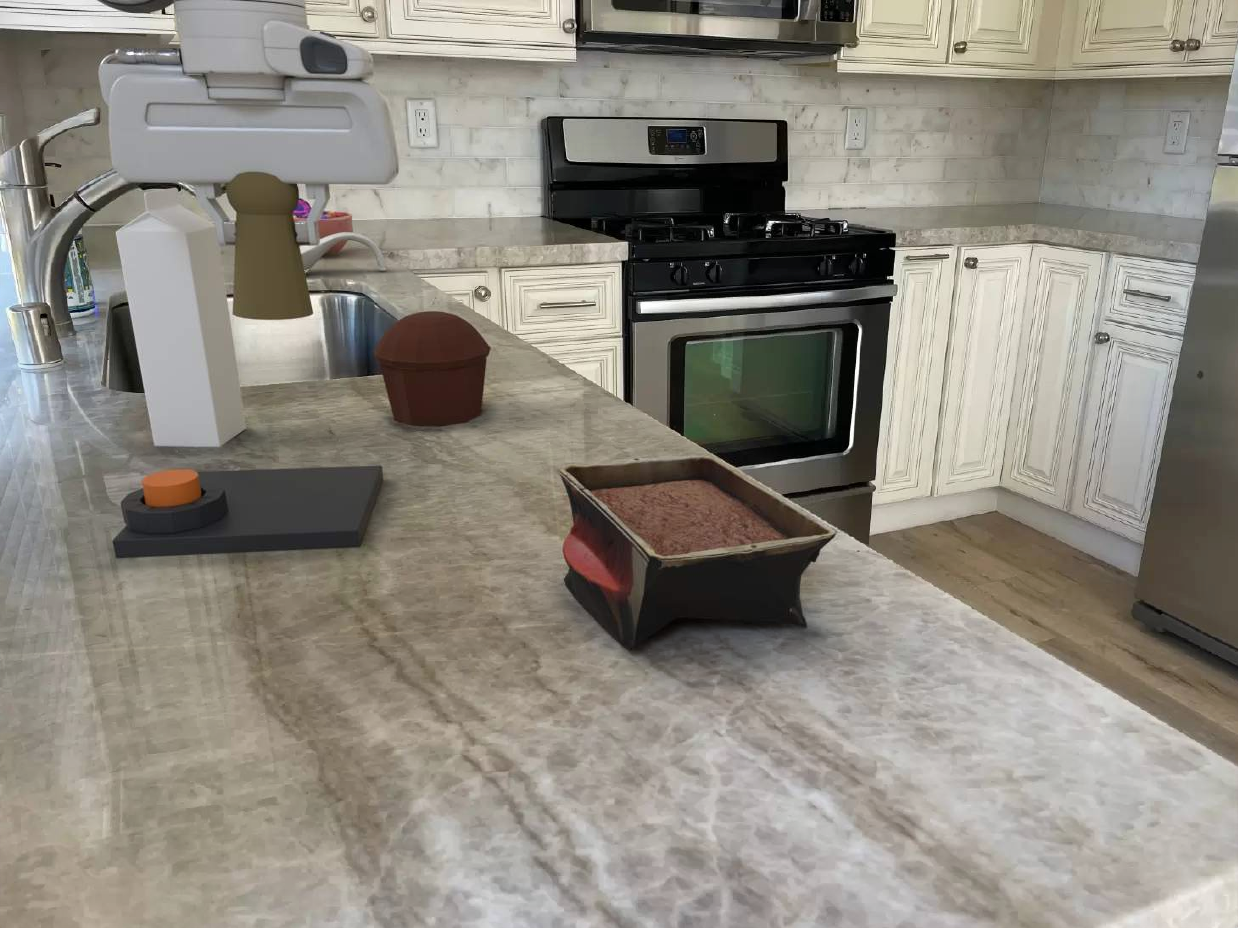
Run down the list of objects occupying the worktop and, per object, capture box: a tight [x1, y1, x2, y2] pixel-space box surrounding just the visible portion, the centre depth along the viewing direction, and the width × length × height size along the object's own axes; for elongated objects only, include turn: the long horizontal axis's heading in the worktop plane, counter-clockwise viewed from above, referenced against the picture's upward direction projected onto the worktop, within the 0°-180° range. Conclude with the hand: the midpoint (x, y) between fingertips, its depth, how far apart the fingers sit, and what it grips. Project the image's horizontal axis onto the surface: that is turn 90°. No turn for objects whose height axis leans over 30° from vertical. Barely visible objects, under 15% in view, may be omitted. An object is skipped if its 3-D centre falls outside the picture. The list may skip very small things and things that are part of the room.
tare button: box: [141, 468, 202, 507], centre depth 71 cm, size 4×4×2 cm
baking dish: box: [557, 454, 838, 651], centre depth 62 cm, size 14×18×10 cm
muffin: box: [372, 310, 492, 427], centre depth 101 cm, size 12×11×10 cm
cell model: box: [293, 197, 354, 256], centre depth 210 cm, size 17×20×11 cm
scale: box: [111, 465, 384, 559], centre depth 76 cm, size 16×14×3 cm
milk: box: [115, 187, 247, 448], centre depth 90 cm, size 6×6×22 cm
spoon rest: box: [299, 232, 387, 275], centre depth 188 cm, size 24×12×7 cm, turn 111°
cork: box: [225, 172, 314, 321], centre depth 79 cm, size 6×6×11 cm
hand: (270, 244), depth 79 cm, fingers closed on cork, 4 cm apart
